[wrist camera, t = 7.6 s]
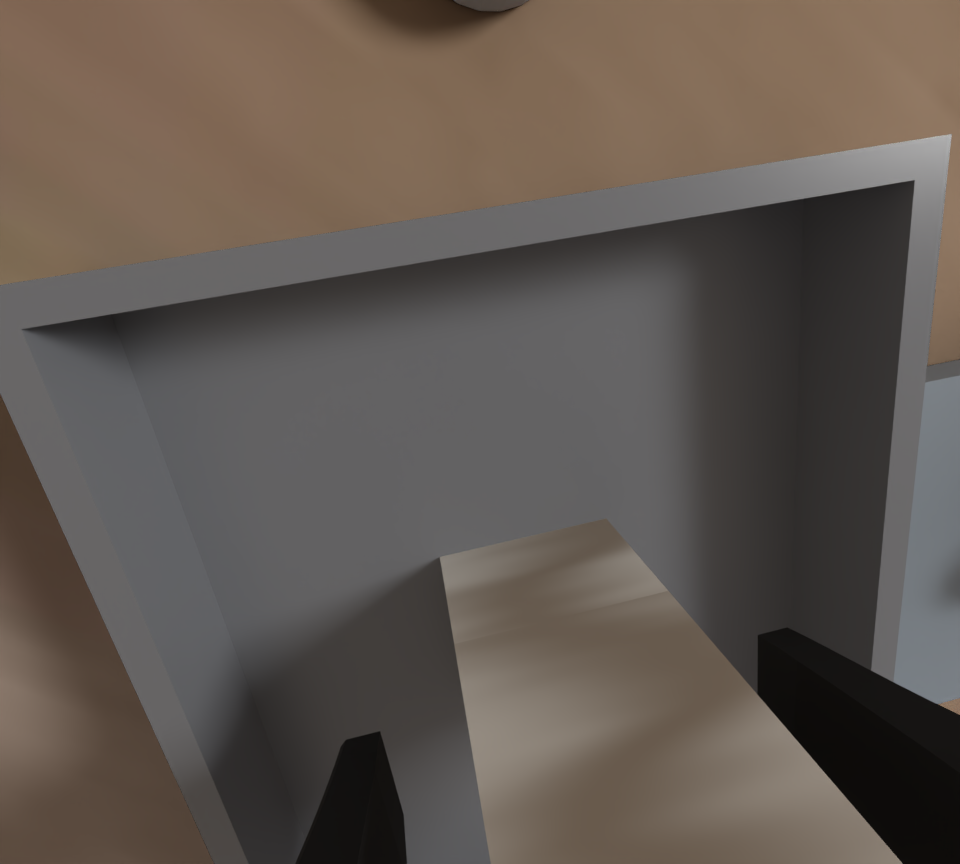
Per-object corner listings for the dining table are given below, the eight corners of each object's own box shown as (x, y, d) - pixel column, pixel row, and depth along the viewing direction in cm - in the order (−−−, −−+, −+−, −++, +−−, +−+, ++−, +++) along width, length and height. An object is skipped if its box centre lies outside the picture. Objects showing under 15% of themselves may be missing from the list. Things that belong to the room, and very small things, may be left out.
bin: (792, 782, 17) (871, 884, 14) (319, 917, 16) (304, 1062, 13) (813, 167, 11) (951, 134, 9) (78, 285, 10) (-46, 292, 7)
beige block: (605, 518, 13) (926, 890, 5) (620, 654, 14) (895, 1118, 6) (439, 557, 12) (517, 1023, 5) (469, 694, 13) (568, 1238, 6)
